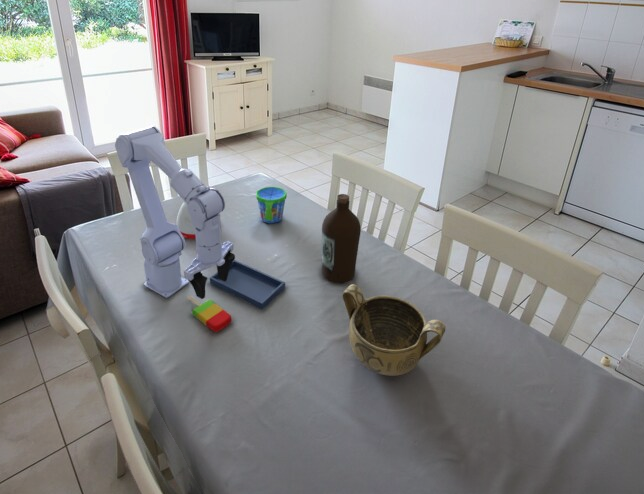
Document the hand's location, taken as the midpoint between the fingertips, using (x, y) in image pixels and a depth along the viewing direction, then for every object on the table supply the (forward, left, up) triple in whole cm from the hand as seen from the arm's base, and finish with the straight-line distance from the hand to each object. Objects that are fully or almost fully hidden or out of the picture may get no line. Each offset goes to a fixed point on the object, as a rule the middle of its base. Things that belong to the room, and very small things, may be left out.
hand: (212, 287), depth 104 cm
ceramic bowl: (+41, +12, -9) cm, 43 cm away
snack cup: (-16, +47, -9) cm, 50 cm away
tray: (0, +14, -9) cm, 16 cm away
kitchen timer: (-33, +28, -9) cm, 44 cm away
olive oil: (+18, +33, -9) cm, 38 cm away
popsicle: (-2, 0, -9) cm, 9 cm away
